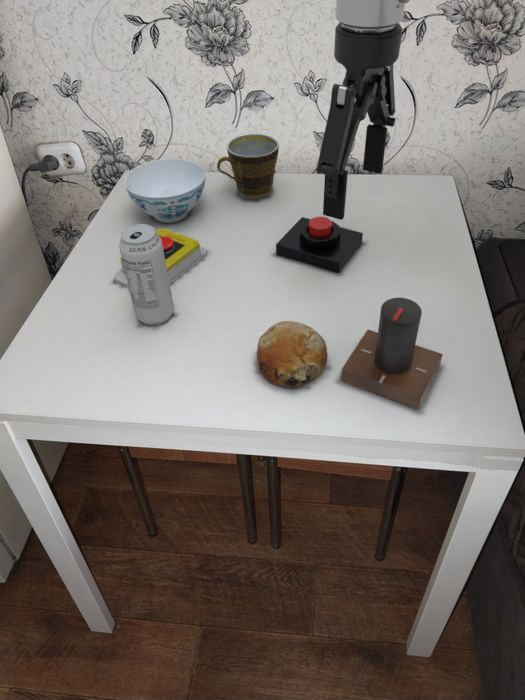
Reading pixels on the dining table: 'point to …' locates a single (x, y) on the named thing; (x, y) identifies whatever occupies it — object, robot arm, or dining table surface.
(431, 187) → the dining table surface
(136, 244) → the energy drink can
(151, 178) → the chinaware
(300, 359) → the bread roll
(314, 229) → the button
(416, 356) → the dial panel
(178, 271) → the emergency button
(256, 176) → the ceramic cup
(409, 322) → the dial
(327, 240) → the button box
